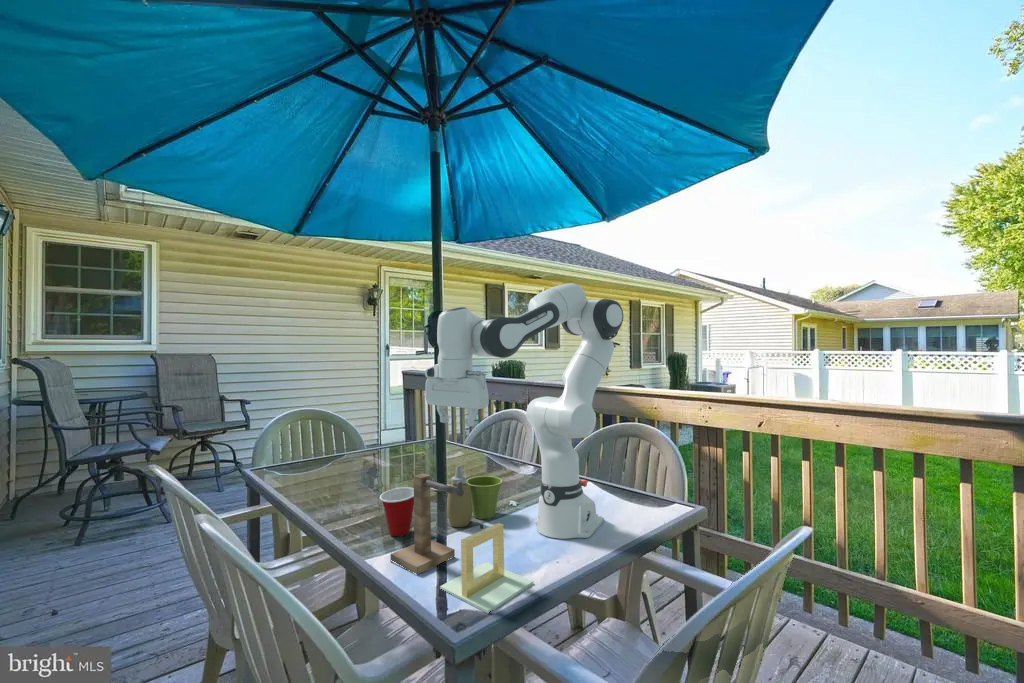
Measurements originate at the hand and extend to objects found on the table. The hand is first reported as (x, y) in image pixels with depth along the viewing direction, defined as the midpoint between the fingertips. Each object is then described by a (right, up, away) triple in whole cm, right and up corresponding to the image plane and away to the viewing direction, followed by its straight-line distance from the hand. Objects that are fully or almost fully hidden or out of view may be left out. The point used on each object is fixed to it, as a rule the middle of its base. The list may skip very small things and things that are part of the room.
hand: (456, 424), depth 115 cm
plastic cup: (-19, -36, +17) cm, 44 cm away
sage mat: (+8, -34, -13) cm, 38 cm away
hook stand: (-5, -35, -3) cm, 35 cm away
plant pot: (+5, -36, +30) cm, 47 cm away
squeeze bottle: (-2, -36, +23) cm, 43 cm away
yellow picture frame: (+8, -34, -14) cm, 38 cm away
